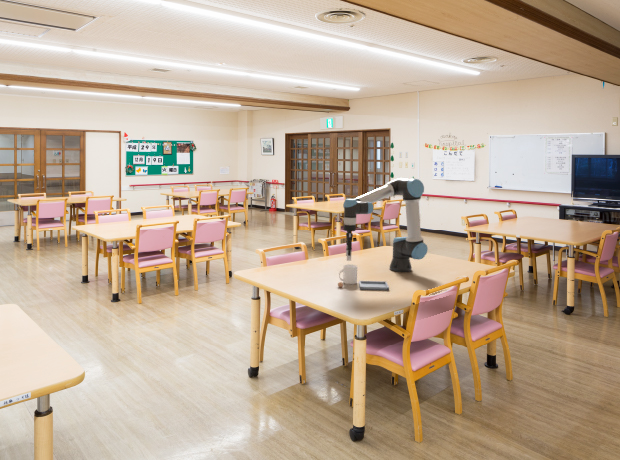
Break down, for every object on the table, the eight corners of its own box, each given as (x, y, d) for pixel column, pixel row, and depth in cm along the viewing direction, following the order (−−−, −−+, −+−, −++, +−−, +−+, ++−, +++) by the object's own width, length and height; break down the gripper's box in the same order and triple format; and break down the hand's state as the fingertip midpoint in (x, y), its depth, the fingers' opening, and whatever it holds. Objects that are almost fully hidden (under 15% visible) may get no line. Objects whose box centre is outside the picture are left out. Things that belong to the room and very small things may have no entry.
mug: (335, 282, 304) (336, 265, 303) (352, 280, 309) (353, 263, 307) (341, 285, 297) (342, 268, 295) (359, 283, 301) (359, 266, 300)
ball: (343, 286, 294) (343, 281, 293) (343, 288, 291) (343, 282, 290) (337, 286, 294) (337, 281, 293) (337, 288, 291) (337, 282, 290)
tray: (386, 284, 301) (386, 281, 301) (388, 290, 287) (389, 287, 287) (358, 283, 302) (358, 280, 301) (360, 289, 288) (360, 286, 288)
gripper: (343, 221, 310) (341, 254, 313) (344, 226, 285) (342, 262, 288) (354, 221, 309) (353, 254, 313) (357, 227, 285) (355, 262, 288)
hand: (348, 258), depth 300 cm, fingers open, 13 cm apart
